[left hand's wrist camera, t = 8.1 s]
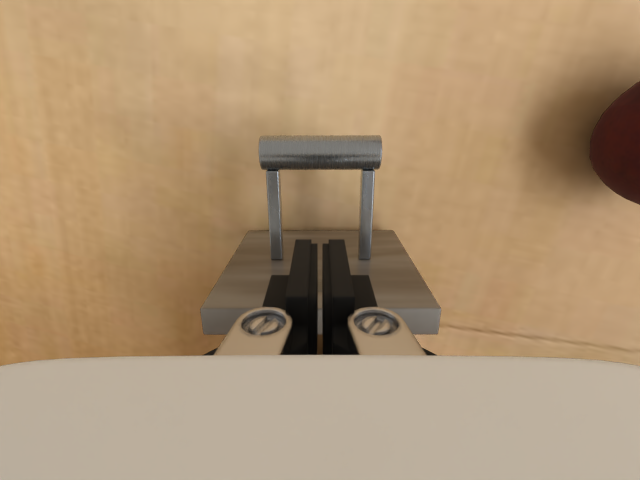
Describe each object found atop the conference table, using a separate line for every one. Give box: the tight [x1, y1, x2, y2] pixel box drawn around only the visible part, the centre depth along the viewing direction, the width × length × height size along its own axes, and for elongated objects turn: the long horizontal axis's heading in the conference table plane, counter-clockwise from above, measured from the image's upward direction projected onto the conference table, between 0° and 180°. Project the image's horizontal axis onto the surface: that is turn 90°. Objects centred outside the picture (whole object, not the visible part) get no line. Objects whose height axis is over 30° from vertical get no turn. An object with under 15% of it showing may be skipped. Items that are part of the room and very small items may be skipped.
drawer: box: [200, 135, 441, 355], centre depth 20 cm, size 22×9×10 cm, turn 0°
